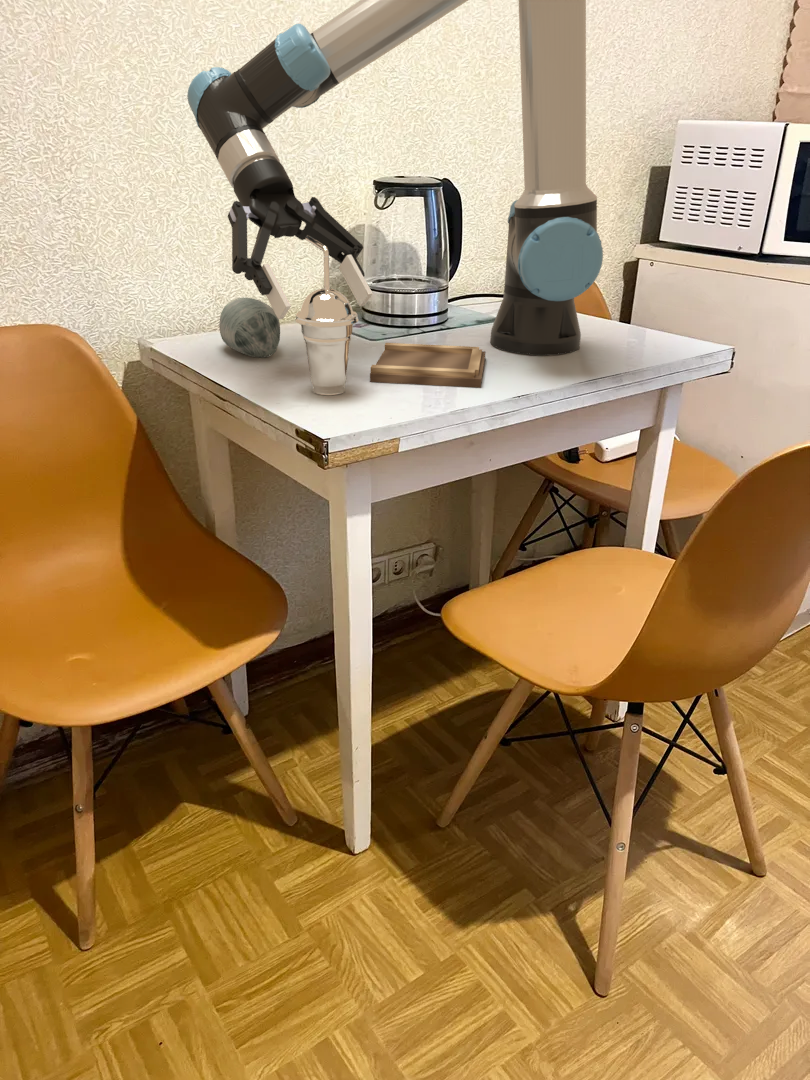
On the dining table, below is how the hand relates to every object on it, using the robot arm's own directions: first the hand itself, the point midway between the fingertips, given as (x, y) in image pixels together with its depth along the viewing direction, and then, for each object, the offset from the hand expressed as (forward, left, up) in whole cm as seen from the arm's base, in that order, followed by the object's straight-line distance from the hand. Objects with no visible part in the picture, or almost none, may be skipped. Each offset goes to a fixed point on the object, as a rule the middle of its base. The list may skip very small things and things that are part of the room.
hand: (327, 306), depth 109 cm
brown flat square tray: (-13, -14, -12) cm, 22 cm away
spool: (+17, -20, -12) cm, 29 cm away
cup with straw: (0, -1, -12) cm, 12 cm away
